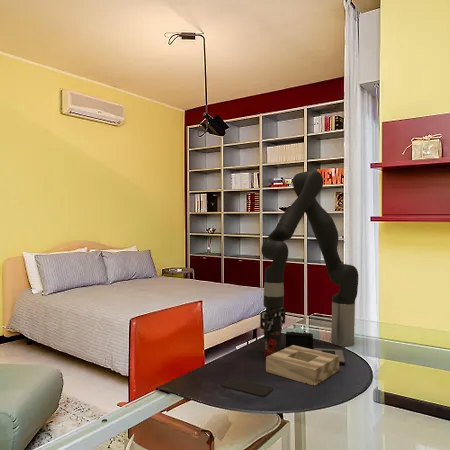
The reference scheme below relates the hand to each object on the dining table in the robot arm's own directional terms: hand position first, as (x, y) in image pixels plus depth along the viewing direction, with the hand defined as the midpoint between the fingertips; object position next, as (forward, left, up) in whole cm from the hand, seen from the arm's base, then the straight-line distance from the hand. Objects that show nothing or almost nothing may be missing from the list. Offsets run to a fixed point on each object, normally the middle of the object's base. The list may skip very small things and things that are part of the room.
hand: (272, 337), depth 155 cm
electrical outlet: (-12, +17, -8) cm, 22 cm away
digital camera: (-13, +4, -7) cm, 15 cm away
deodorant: (0, 0, -7) cm, 7 cm away
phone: (+30, +10, -7) cm, 32 cm away
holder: (+6, +16, -7) cm, 18 cm away
